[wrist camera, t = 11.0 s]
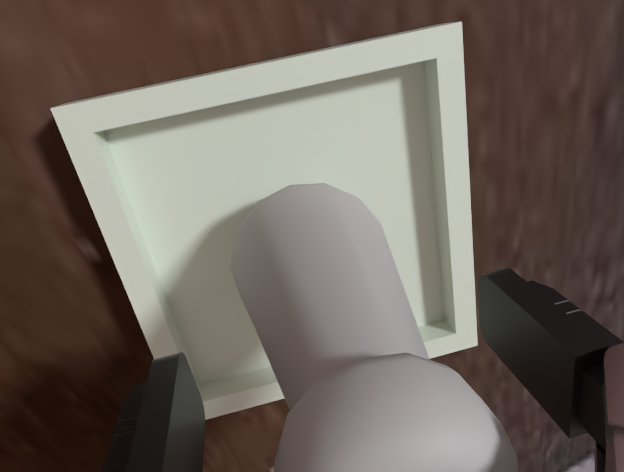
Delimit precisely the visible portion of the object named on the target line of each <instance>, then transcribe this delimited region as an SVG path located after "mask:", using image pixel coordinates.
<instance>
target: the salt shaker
mask: <svg viewBox="0 0 624 472" xmlns="http://www.w3.org/2000/svg"><path fill="white" fill-rule="evenodd" d="M230 271H231V273H232V276H233V279H234V281H235V284H236V287H237V289H238V292H239V295H240V297H241V299H242V302H243V304H244V306H245V308H246V310H247V312H248V314H249V316H250V319H251V321H252V323H253V325H254V327H255V329H256V332H257V334H258V336H259V339H260V341H261V344H262V346H263V348H264V351H265V353H266V355H267V358H268V360H269V362H270V365H271V367H272V369H273V372H274V374H275V377H276V379H277V381H278V384H279V386H280V388H281V391H282V393H283V395H284V398H285V400H286V403H287V405H288V407H289V410H290V412H289V413H288V414H287V417H286V421H285V424H284V428H283V432H282V436H281V439H280V443H279V447H278V451H277V455H276V459H275V462H274V472H518V465H517V455H516V453H515V451H514V449H513V447H512V445H511V443H510V440H509V438H508V436H507V434H506V432H505V430H504V428H503V426H502V424H501V423H500V421H499V420H498V419H497V418H496V416H495V415H494V414H493V413H492V411H491V410H490V409H489V408H488V406H487V405H486V404H485V403H484V401H483V400H482V399H481V398H480V397H479V396H478V395H477V394H476V392H475V391H474V390H473V389H472V388H471V387H470V386H469V385H468V384H467V383H466V382H465V380H464V379H463V378H462V377H461V376H460V375H459V374H458V373H457V372H456V371H454V370H452V369H451V368H449V367H448V366H446V365H444V364H441V363H438V362H435V361H431V360H430V359H429V356H428V354H427V351H426V348H425V345H424V342H423V340H422V337H421V334H420V331H419V329H418V326H417V323H416V320H415V317H414V315H413V312H412V309H411V306H410V303H409V301H408V298H407V295H406V292H405V289H404V287H403V284H402V281H401V278H400V276H399V273H398V270H397V267H396V264H395V262H394V259H393V256H392V253H391V250H390V248H389V245H388V242H387V239H386V236H385V234H384V231H383V228H382V225H381V223H380V222H379V221H378V220H377V219H376V217H375V216H374V215H373V214H372V213H371V211H370V210H369V209H368V208H367V207H366V205H365V204H364V203H363V202H362V200H361V199H359V198H358V197H356V196H354V195H352V194H349V193H347V192H345V191H342V190H340V189H338V188H335V187H333V186H330V185H328V184H326V183H316V184H298V185H289V186H287V187H285V188H283V189H281V190H279V191H277V192H275V193H273V194H271V195H270V196H268V197H266V198H264V199H262V200H260V201H258V202H257V203H256V205H255V206H254V207H253V209H252V210H251V211H250V213H249V214H248V216H247V217H246V218H245V220H244V221H243V222H242V224H241V225H240V226H239V228H238V229H237V232H236V235H235V240H234V246H233V251H232V257H231V262H230Z"/></svg>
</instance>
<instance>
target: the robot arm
mask: <svg viewBox="0 0 624 472" xmlns="http://www.w3.org/2000/svg"><path fill="white" fill-rule="evenodd" d="M478 299H479V322H480V328H481V331H482V334H483V337H484V339H485V340H486V342H487V344H488V345H489V346H490V347H491V348H492V350H493V351H494V352H495V353H496V354H497V355H498V357H499V358H500V359H501V360H502V361H503V362H504V363H505V365H506V366H507V367H508V368H509V369H510V370H511V372H512V373H513V374H514V375H515V376H516V377H517V378H518V380H519V381H520V382H521V383H522V384H523V385H524V387H525V388H526V389H527V390H528V391H529V392H530V393H531V395H532V396H533V397H534V398H535V399H536V400H537V402H538V403H539V404H540V405H541V406H542V407H543V408H544V410H545V411H546V412H547V413H548V414H549V415H550V417H551V418H552V419H553V420H554V421H555V422H556V423H557V425H558V426H559V427H560V428H561V429H562V430H563V432H564V433H565V434H566V435H567V436H568V437H569V438H573V437H576V436H579V435H583V434H586V433H589V434H590V435H591V436H592V437H593V438H594V440H595V448H594V459H595V472H624V342H623V341H622V340H620V339H619V338H618V337H616V336H615V335H614V334H612V333H611V332H610V331H608V330H607V329H606V328H604V327H603V326H602V325H601V324H599V323H598V322H597V321H595V320H594V319H593V318H591V317H590V316H589V315H587V314H586V313H585V312H583V311H580V310H579V308H578V307H577V306H575V305H574V304H573V303H571V302H568V301H567V299H566V298H565V297H563V296H562V295H561V294H559V293H558V292H557V291H555V290H554V289H553V288H550V287H548V286H545V285H542V284H540V283H537V282H535V281H530V282H526V281H525V280H524V279H523V278H521V277H520V276H519V275H518V274H516V273H515V272H514V271H513V270H511V269H509V268H506V269H502V270H498V271H494V272H490V273H486V274H483V275H480V276H479V279H478ZM117 421H118V423H116V426H115V429H114V432H113V438H112V439H111V443H110V446H109V450H108V453H107V457H106V460H105V464H104V467H103V471H102V472H202V469H203V451H204V433H205V412H204V406H203V401H202V398H201V395H200V392H199V390H198V387H197V384H196V382H195V379H194V377H193V374H192V371H191V369H190V366H189V364H188V361H187V358H186V356H185V355H184V353H183V352H180V353H176V354H173V355H169V356H165V357H161V358H157V359H153V360H152V362H151V365H150V370H149V374H148V378H147V382H145V383H141V384H137V385H135V386H134V387H133V388H132V390H131V391H130V392H129V394H128V395H127V396H126V398H125V399H124V401H123V402H122V405H121V408H120V412H119V415H118V419H117Z"/></svg>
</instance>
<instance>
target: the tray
mask: <svg viewBox="0 0 624 472" xmlns="http://www.w3.org/2000/svg"><path fill="white" fill-rule="evenodd" d="M50 109H51V111H52V114H53V116H54V118H55V121H56V123H57V126H58V128H59V131H60V133H61V135H62V138H63V140H64V143H65V145H66V147H67V150H68V152H69V155H70V157H71V160H72V162H73V164H74V167H75V169H76V172H77V174H78V176H79V179H80V181H81V184H82V186H83V189H84V191H85V193H86V196H87V198H88V201H89V203H90V205H91V208H92V210H93V213H94V215H95V218H96V220H97V222H98V225H99V227H100V230H101V232H102V234H103V237H104V239H105V242H106V244H107V246H108V249H109V251H110V254H111V256H112V259H113V261H114V263H115V266H116V268H117V271H118V273H119V275H120V278H121V280H122V283H123V285H124V288H125V290H126V292H127V295H128V297H129V300H130V302H131V304H132V307H133V309H134V312H135V314H136V317H137V319H138V321H139V324H140V326H141V329H142V331H143V333H144V336H145V338H146V341H147V343H148V346H149V348H150V350H151V353H152V355H153V358H154V359H157V358H161V357H165V356H169V355H173V354H176V353H180V352H183V353H184V355H185V356H186V358H187V361H188V364H189V366H190V369H191V371H192V374H193V377H194V379H195V382H196V384H197V387H198V390H199V392H200V395H201V398H202V401H203V406H204V412H205V420H207V419H210V418H214V417H217V416H221V415H225V414H228V413H232V412H236V411H239V410H243V409H247V408H250V407H254V406H258V405H261V404H265V403H269V402H272V401H276V400H280V399H283V398H284V395H283V393H282V391H281V388H280V386H279V384H278V381H277V379H276V377H275V374H274V372H273V369H272V367H271V365H270V362H269V360H268V358H267V355H266V353H265V351H264V348H263V346H262V344H261V341H260V339H259V336H258V334H257V332H256V329H255V327H254V325H253V323H252V321H251V319H250V316H249V314H248V312H247V310H246V308H245V306H244V304H243V302H242V299H241V297H240V295H239V292H238V289H237V287H236V284H235V281H234V279H233V276H232V273H231V271H230V262H231V257H232V251H233V246H234V240H235V235H236V232H237V229H238V228H239V226H240V225H241V224H242V222H243V221H244V220H245V218H246V217H247V216H248V214H249V213H250V211H251V210H252V209H253V207H254V206H255V205H256V203H257V202H258V201H260V200H262V199H264V198H266V197H268V196H270V195H271V194H273V193H275V192H277V191H279V190H281V189H283V188H285V187H287V186H289V185H298V184H316V183H326V184H328V185H330V186H333V187H335V188H338V189H340V190H342V191H345V192H347V193H349V194H352V195H354V196H356V197H358V198H359V199H361V200H362V202H363V203H364V204H365V205H366V207H367V208H368V209H369V210H370V211H371V213H372V214H373V215H374V216H375V217H376V219H377V220H378V221H379V222H380V223H381V225H382V228H383V231H384V234H385V236H386V239H387V242H388V245H389V248H390V250H391V253H392V256H393V259H394V262H395V264H396V267H397V270H398V273H399V276H400V278H401V281H402V284H403V287H404V289H405V292H406V295H407V298H408V301H409V303H410V306H411V309H412V312H413V315H414V317H415V320H416V323H417V326H418V329H419V331H420V334H421V337H422V340H423V342H424V345H425V348H426V351H427V354H428V356H429V359H430V358H434V357H437V356H441V355H445V354H448V353H452V352H456V351H459V350H463V349H467V348H470V347H474V346H478V344H477V323H476V303H475V282H474V262H473V241H472V220H471V200H470V179H469V158H468V138H467V117H466V96H465V76H464V55H463V34H462V22H454V23H445V24H438V25H433V26H428V27H424V28H419V29H414V30H409V31H405V32H400V33H395V34H390V35H386V36H381V37H376V38H371V39H367V40H362V41H357V42H352V43H348V44H343V45H338V46H333V47H329V48H324V49H319V50H314V51H310V52H305V53H300V54H295V55H291V56H286V57H281V58H276V59H272V60H267V61H262V62H258V63H253V64H248V65H243V66H239V67H234V68H229V69H224V70H220V71H215V72H210V73H205V74H201V75H196V76H191V77H186V78H182V79H177V80H172V81H167V82H163V83H158V84H153V85H148V86H144V87H139V88H134V89H129V90H125V91H120V92H115V93H111V94H106V95H101V96H96V97H92V98H87V99H82V100H77V101H73V102H68V103H65V104H62V105H59V106H56V107H53V108H50Z"/></svg>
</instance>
